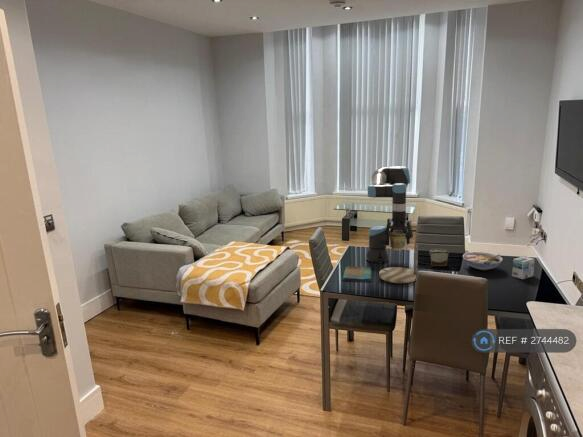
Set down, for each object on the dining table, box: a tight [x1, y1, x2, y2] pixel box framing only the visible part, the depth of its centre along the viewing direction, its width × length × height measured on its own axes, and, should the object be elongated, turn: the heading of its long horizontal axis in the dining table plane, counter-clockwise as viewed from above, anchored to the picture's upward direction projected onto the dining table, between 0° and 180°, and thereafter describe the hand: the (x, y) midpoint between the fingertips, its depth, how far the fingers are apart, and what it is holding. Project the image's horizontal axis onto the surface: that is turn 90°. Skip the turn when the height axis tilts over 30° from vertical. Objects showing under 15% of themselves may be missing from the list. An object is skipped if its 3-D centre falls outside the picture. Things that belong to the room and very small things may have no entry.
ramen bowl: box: [462, 251, 503, 271], centre depth 249 cm, size 25×23×8 cm
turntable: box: [378, 245, 419, 284], centre depth 236 cm, size 22×22×19 cm
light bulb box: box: [511, 255, 536, 280], centre depth 234 cm, size 11×7×11 cm, turn 118°
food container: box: [428, 248, 450, 267], centre depth 260 cm, size 12×6×10 cm, turn 84°
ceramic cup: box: [389, 230, 406, 251], centre depth 234 cm, size 13×10×10 cm
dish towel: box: [342, 266, 372, 283], centre depth 248 cm, size 17×23×2 cm
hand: (398, 247), depth 234 cm, fingers closed on ceramic cup, 9 cm apart
